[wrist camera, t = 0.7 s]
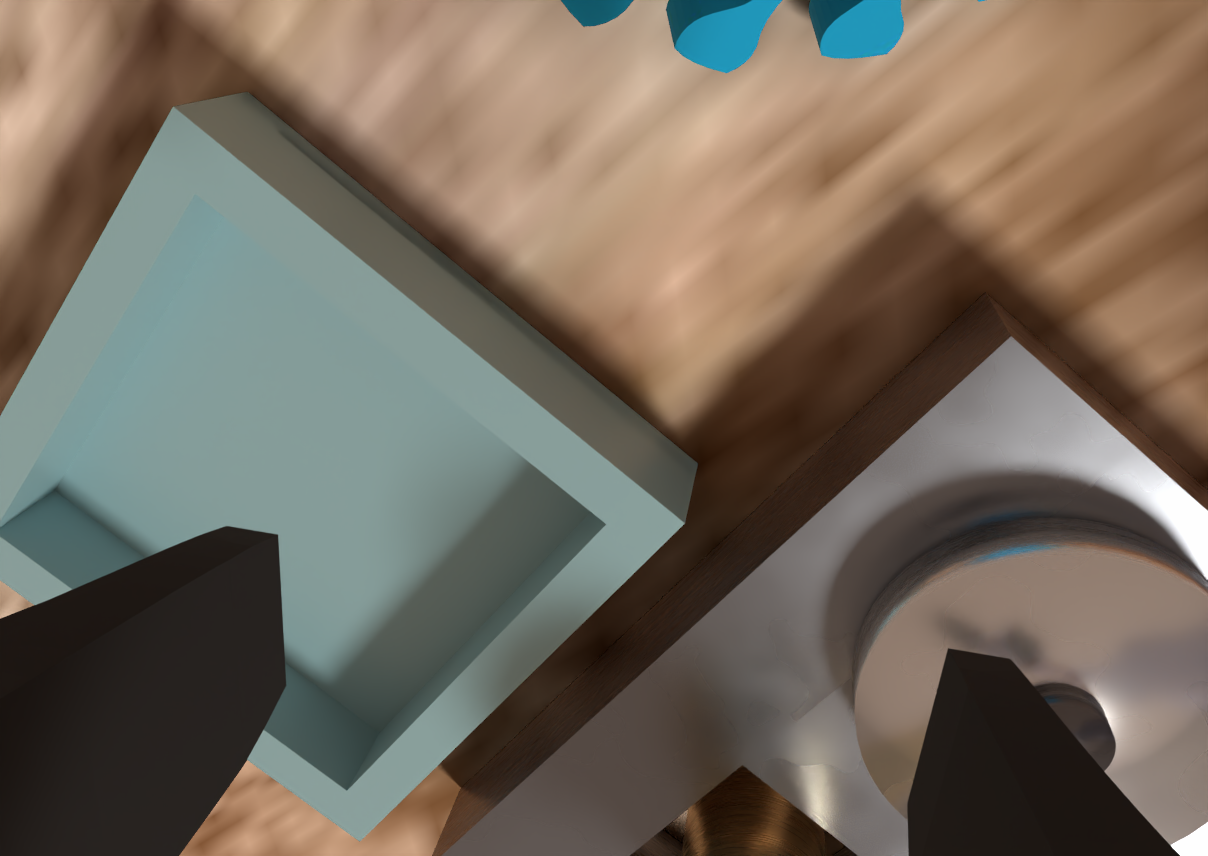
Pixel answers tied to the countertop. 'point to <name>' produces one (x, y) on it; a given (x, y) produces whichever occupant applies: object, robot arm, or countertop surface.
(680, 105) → the countertop surface
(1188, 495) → the grey flat block
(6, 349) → the countertop surface
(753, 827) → the pin
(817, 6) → the gear
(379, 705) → the pin tray
